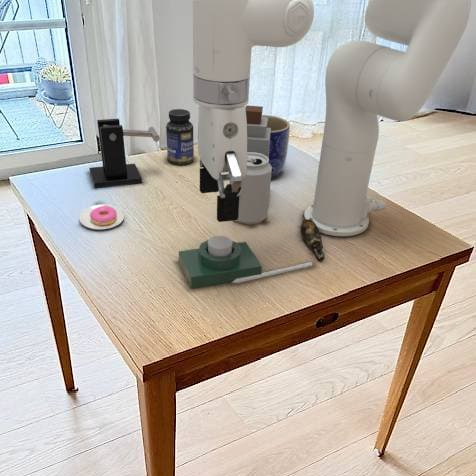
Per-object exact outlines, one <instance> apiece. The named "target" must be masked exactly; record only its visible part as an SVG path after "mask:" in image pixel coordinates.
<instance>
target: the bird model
mask: <svg viewBox="0 0 476 476" xmlns="http://www.w3.org/2000/svg"><path fill="white" fill-rule="evenodd" d="M302 217H303V220H302V223H301V224H300V228H299V229H300V234H301V236H302V239H303V240H304V241H305V243H306V244H307V245H308V246H309V248H311V250H312V252H313V253H315V255H316V257H317V259H319V260H320V261H322V260H324V259H325V253H324V251H323V249H324V246H323V242H322V236H321V233H320V232H319V230H318V227H317V226H316V224H315V223H314V221H312V220H307V219H305V217H304V214H303V215H302Z"/></svg>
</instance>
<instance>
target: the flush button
mask: <svg viewBox="0 0 476 476" xmlns="http://www.w3.org/2000/svg"><path fill="white" fill-rule="evenodd" d="M207 240H208V253H209V254H210V255H212V256H217V257H224V256H229V255H230V254H231V253H232V243H233V242H232V241H233V240H232V239H231V238H230V237H228V236H225V235H214V236H211V237H210V238H209V239H207Z"/></svg>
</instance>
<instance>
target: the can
mask: <svg viewBox="0 0 476 476" xmlns="http://www.w3.org/2000/svg"><path fill="white" fill-rule="evenodd" d="M268 162H269V159H268V157H267V156H265V155H263V154H260V153H255V152H247V172H246V176H245V177H244V178H242V182H241V190H240V197H239V215H238V219H237V220H235V221H236V222H238V223H240V224H244V225H257V224H260V223H261V222H262V221H264V220H266V219H267V217H268V216H269V205H270V194H271V182H272V177H271V171H272V166H271V165H270V164H269V163H268Z"/></svg>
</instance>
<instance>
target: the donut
mask: <svg viewBox="0 0 476 476" xmlns="http://www.w3.org/2000/svg"><path fill="white" fill-rule="evenodd" d="M78 219H79V222H80V224H81V225H82V226H84V227H85V228H88V229H92V230H108V229H111V228H114V227H116V226H119V225H120V224H121V223H122V222H123V221H124V220H125V212H124V210H122V209H121V208H120V207H119V206H116V205H113V204H105V203H103V204H101V203H98V204H94V205H91V206H89V207H87V208H85V209H83V210H82V211H81V212H80V214H79V217H78Z"/></svg>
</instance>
